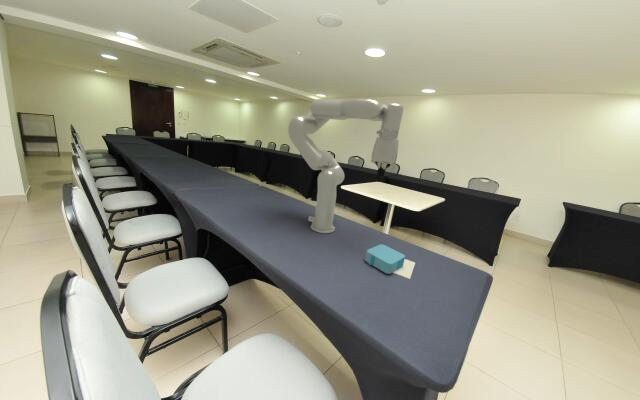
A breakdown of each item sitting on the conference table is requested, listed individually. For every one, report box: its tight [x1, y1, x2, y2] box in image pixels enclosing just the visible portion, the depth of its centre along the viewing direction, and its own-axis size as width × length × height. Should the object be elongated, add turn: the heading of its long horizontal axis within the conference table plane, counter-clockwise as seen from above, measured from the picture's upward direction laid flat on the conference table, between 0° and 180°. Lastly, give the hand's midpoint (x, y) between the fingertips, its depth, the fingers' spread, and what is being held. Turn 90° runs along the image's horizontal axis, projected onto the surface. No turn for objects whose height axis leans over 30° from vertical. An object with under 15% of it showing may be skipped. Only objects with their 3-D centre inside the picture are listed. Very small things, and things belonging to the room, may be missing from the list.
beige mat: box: [369, 258, 416, 280], centre depth 98 cm, size 16×14×1 cm
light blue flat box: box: [364, 244, 406, 275], centre depth 97 cm, size 12×4×12 cm
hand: (380, 177), depth 106 cm, fingers closed
